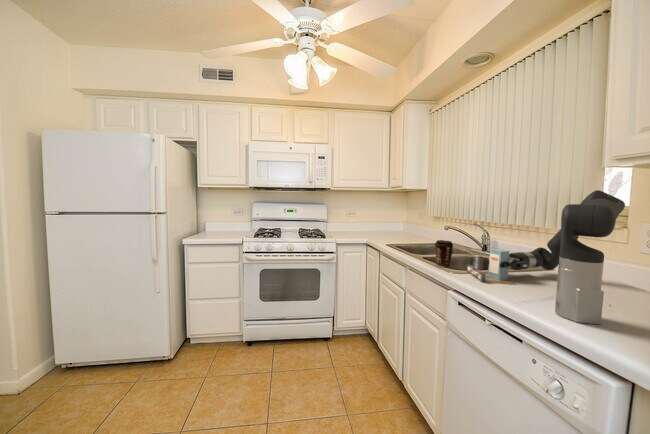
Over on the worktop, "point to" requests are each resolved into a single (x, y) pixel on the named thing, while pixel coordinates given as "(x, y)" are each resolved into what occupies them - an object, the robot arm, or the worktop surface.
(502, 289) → the worktop surface
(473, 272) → the shelf board
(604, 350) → the worktop surface
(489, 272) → the carton
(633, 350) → the worktop surface
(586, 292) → the robot arm
